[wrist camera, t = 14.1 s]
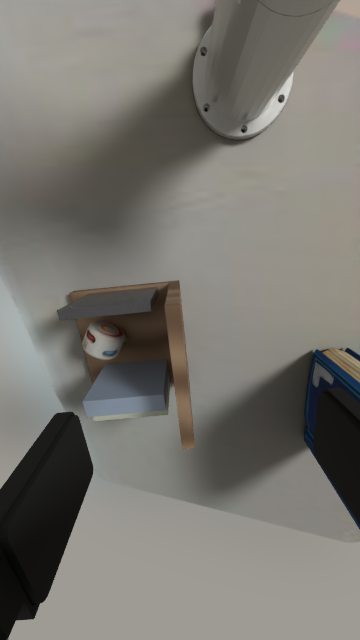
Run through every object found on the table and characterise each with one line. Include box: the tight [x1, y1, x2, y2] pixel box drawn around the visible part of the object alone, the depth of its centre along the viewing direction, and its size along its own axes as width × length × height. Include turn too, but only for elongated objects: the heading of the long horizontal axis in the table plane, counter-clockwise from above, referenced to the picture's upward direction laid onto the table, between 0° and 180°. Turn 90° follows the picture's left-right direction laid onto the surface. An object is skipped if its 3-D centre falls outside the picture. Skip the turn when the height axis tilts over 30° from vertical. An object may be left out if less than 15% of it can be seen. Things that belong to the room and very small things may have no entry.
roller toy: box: [82, 321, 127, 360], centre depth 36 cm, size 4×6×6 cm
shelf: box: [70, 281, 195, 449], centre depth 33 cm, size 18×18×16 cm
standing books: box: [82, 359, 170, 421], centre depth 36 cm, size 5×11×10 cm, turn 96°
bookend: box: [57, 287, 158, 320], centre depth 32 cm, size 1×11×10 cm, turn 96°
